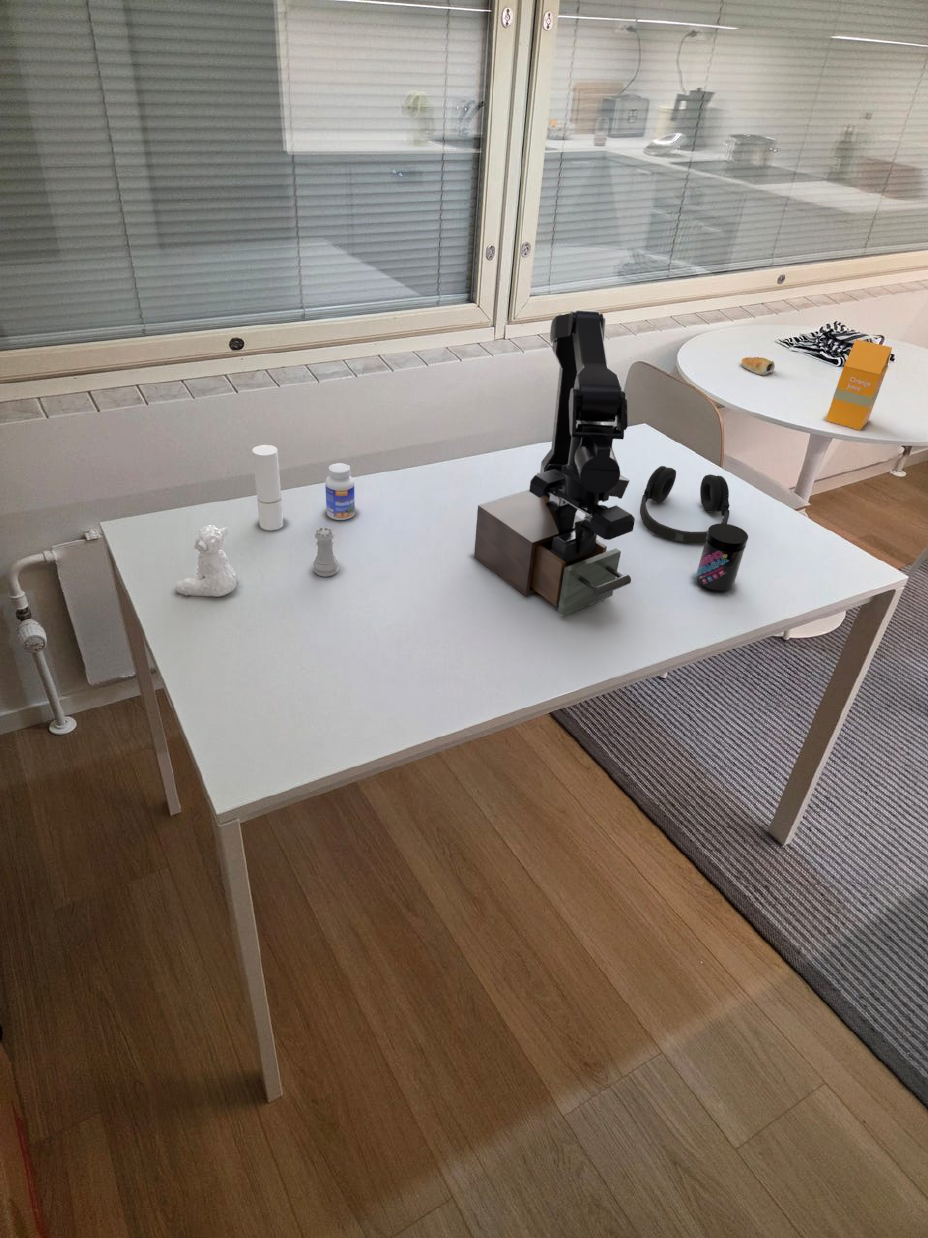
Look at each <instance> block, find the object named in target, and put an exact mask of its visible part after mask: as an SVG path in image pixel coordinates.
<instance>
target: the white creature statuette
mask: <svg viewBox="0 0 928 1238" xmlns="http://www.w3.org/2000/svg"><path fill="white" fill-rule="evenodd" d="M198 532H199V533H198V536H197V537H196V538H195V542H194V546H193V547H194V549H195V550H197V551H198V552H199V554H198V557H197V569H196V570H197V572H196V576H195V578H194V577H186V578H185V577H184V578H182V579H180V580H177V582H176V584H175V589H176V592H177V593H178V594H180V595H184V596H185V597H187V596H193V597H194V596H195V597H215V598H216V597H217V598H220V597H221V598H222V597H224V596H226V595H228V594H229V593H231V592H233V591H234V590H235V588H236V587H237V584H238V582H237V573H236V572H235V571H234V568H233V566H232V565H231V563H229V557H228V556H227V554H226V552H224V550H222V549H221V548H222V547H223V545H224V537H227V535H228V534H229V528H228V527H227V526H221V527H220V528H217V527H216V525H214V524H208V525H204V526H202V527H201V529H199V530H198Z"/></svg>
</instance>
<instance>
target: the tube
mask: <svg viewBox="0 0 928 1238" xmlns="http://www.w3.org/2000/svg"><path fill="white" fill-rule="evenodd" d="M251 451H252V459H253V470H254V471H253V472H254V479H255V480H254V481H255V491H256V501H257V511H258V522H259V527H260V529H263V530H265V531H277V530H280V529H281V528H283V526H284V517H283V503H282V489H281V478H280V465H279V463H280V462H279V451H278V448H277V446H274V445H271V444H261V445H256V446H254V447H253V448H252V450H251Z"/></svg>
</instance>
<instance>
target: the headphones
mask: <svg viewBox="0 0 928 1238" xmlns="http://www.w3.org/2000/svg"><path fill="white" fill-rule="evenodd" d="M676 477H677V471H676V470H675V469H674V468H672V467H667V466H665V465H660V466H658V467H657V468H656V469H655V470H654V471H653V472H652V474H651V475H650V477H649V478H648V480H647V483H646V486H645V489H644V490H643V491H644V492H643V495H642V496H641V502H640V506H639V516H640V520H641V523H642V524H643V525H644V527H645V528H646V529H647V530H648V531H649V532H651V533H652V534H654V535H656V536H657V537H660V538H663V539H665V540H668V541H672V542H675V543H680V544H687V545H689V544H690V545H693V544H696V545H697V544H698V545H702V544H705V540H706V535H707V532H708V530H705V531H688V530H681V529H677V528H672V527H670V526H667V525H665V524H663V523H660V522H658V521H657V520H655V518H653V516H651V515H650V513H649V511H648V508H647V502H648V500H651V501H653V502H655V503H658V504H661V503H663V502H664V501H665V500H666V499H667V498H668V496H669V495H670V493H671V492H672V490H673V487H674V484H675V482H676ZM728 485H729V484H728V483H727V481H726V478H725V477H724V476H722V475H715V474H710V473H709V474H706V475H704V476H703V478H702V479H701V482H700V488H699V495H700V503H701V505H702V507H703V510H704V511H706V512H709V513H714V512H720V515H721V517H723V518H722V521H721V522H720V523H723V524H728V521H729V518H730V510H729V508H730V502H729V498H730V497H729V496H730V490H729V486H728Z"/></svg>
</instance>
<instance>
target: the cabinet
mask: <svg viewBox="0 0 928 1238" xmlns="http://www.w3.org/2000/svg"><path fill="white" fill-rule="evenodd" d="M549 499H550V498H548V497H546V496H543V497H541V498H539V497H537V496H536V495H534V494H532V493H531V492H529V489H526V490H523V491H519V492H517V493H513V494H510V495H507V496H503V497H500V498H497V499H494V500H491V501H488V502H483V503H480V504H478V505H477V514H476V524H475V528H476V529H475V536H474V537H475V540H474V550H473V558H475V559H476V560H477V561H478V562H480V563H481V564H482V565H484V567H486V568H487V569H489V570H490V571H492V572H493V573H494V574H495V575H497V576H498V577H499V578H501V579H502V581H505V582H506V583H507V584H508V585H510V586H511V587H513V589H515V590H516V591H518V592H519V593H520V594H522V595H523V596H524V597H528V596H530V595H533V594H535V593H538V592H537V591H535V590H534V589H533V588H531V587H530V583H531V576H532V568H533V560H534V552H535V546H536V545H538V544H541V543H544V542H547V541H550V540H553V538H555V537H557V536H560V535H559V532H558V529H557V527H556V524H555V522H554V520H553V517H552V515H551V513H550V511H549V509H548V507H546V505H545V503H546V502H548V501H549ZM583 519H584V518H582V517H580V516H578V515H577V514H575V520H574V525H573V531H574V530H575V522H578V521H581V520H583Z"/></svg>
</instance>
